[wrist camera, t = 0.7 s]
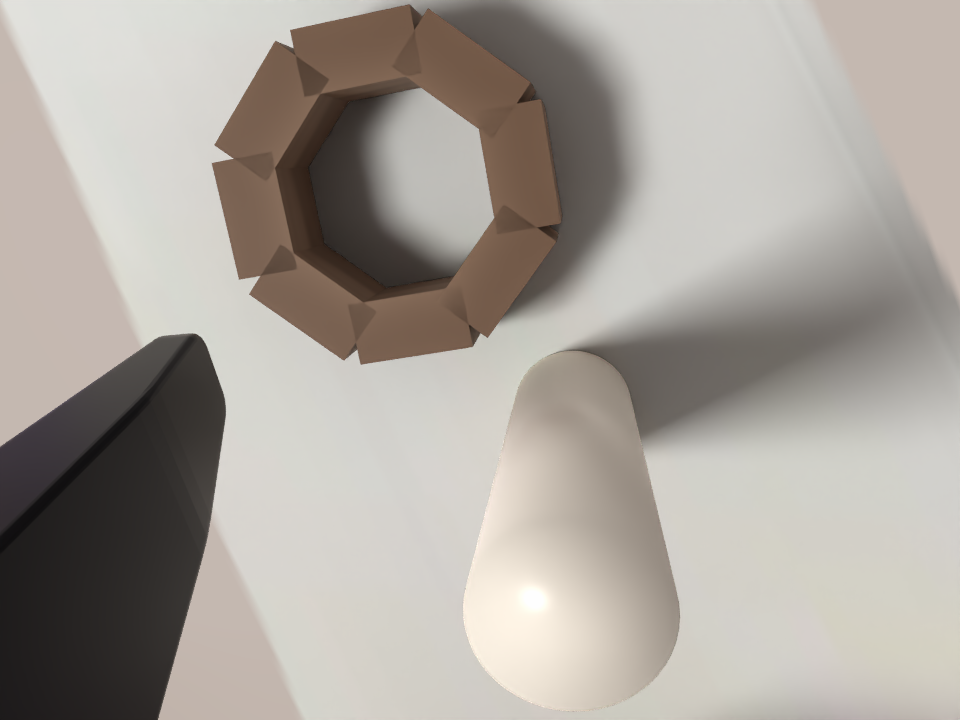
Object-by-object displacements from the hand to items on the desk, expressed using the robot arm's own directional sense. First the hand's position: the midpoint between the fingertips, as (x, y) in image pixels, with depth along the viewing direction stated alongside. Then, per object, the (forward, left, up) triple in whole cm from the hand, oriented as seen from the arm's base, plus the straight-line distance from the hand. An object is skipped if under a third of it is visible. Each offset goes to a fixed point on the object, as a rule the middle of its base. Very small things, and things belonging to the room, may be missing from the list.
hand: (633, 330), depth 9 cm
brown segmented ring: (-2, +5, -17) cm, 18 cm away
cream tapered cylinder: (-5, -3, -17) cm, 18 cm away
